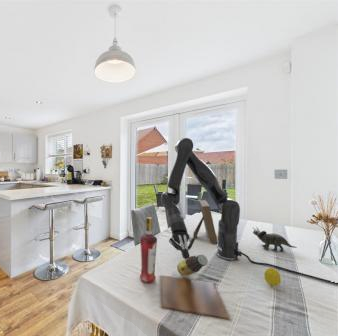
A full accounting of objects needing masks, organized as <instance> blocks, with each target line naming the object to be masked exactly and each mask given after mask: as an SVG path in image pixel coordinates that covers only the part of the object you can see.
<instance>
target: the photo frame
mask: <svg viewBox="0 0 338 336" xmlns="http://www.w3.org/2000/svg"><path fill="white" fill-rule="evenodd" d="M199 206H200V210H201V215H202V217H201V219H200V221H199V222H198V224H197V226H196V228H195V229H194V231H193V234H192V238H194V239H195V238H197V237H198V234H199V232H200V229H201V227H202V225H203V224H204V228H205V233H206V236H207V238H208V241H209V243H210V244H218V236H217V234H216V229H215V224H214V220H213V216H212V211H211V207H210V204H209V203H208V201H207V200H206V199H202V200H199Z"/></svg>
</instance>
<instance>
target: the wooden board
mask: <svg viewBox="0 0 338 336" xmlns="http://www.w3.org/2000/svg"><path fill="white" fill-rule="evenodd" d="M160 281H161V283H160V284H161V306H162V307H161V308H162V309H166V310H167V309H168V310H173V311H177V312H178V311H179V312H184V313H190V314H196V315H201V316H206V317H207V316H208V317H212V318H218V319H223V320H224V319H225V320H230V315H229V314H228V312H227V310H226V307H225V306H224V303H223V301H222V300H221V297H220V295H219V292H218V291H217V289H216V286H215V284H214V282H210V281H202V280H196V279H190V278H182V277H174V276H168V275H160Z"/></svg>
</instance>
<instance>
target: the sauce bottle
mask: <svg viewBox="0 0 338 336" xmlns="http://www.w3.org/2000/svg"><path fill="white" fill-rule="evenodd" d="M208 263H209V261H208V258H207V256H206V255H204V254H199V255H191V256H190V257H189V258H187V259H183V260H181V261H180V262H178V264H177V266H176V270H177V272H178V273H179V274H180V275H181V276H184V277H187V276H191V275H193V274H196V273H198V272H200V271H201V269H202V268H203V267H205V266H207V265H208Z"/></svg>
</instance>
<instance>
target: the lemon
mask: <svg viewBox="0 0 338 336" xmlns="http://www.w3.org/2000/svg"><path fill="white" fill-rule="evenodd" d="M263 273H264V274H263V278H264V280H265V282H266V283H267V284H268V285H270V287H277V286H279V285H280V284H281V280H282V279H281V274H280V272H279V271H278V270H277V269H275V267H268V268H266V269H265V271H264V272H263Z"/></svg>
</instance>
